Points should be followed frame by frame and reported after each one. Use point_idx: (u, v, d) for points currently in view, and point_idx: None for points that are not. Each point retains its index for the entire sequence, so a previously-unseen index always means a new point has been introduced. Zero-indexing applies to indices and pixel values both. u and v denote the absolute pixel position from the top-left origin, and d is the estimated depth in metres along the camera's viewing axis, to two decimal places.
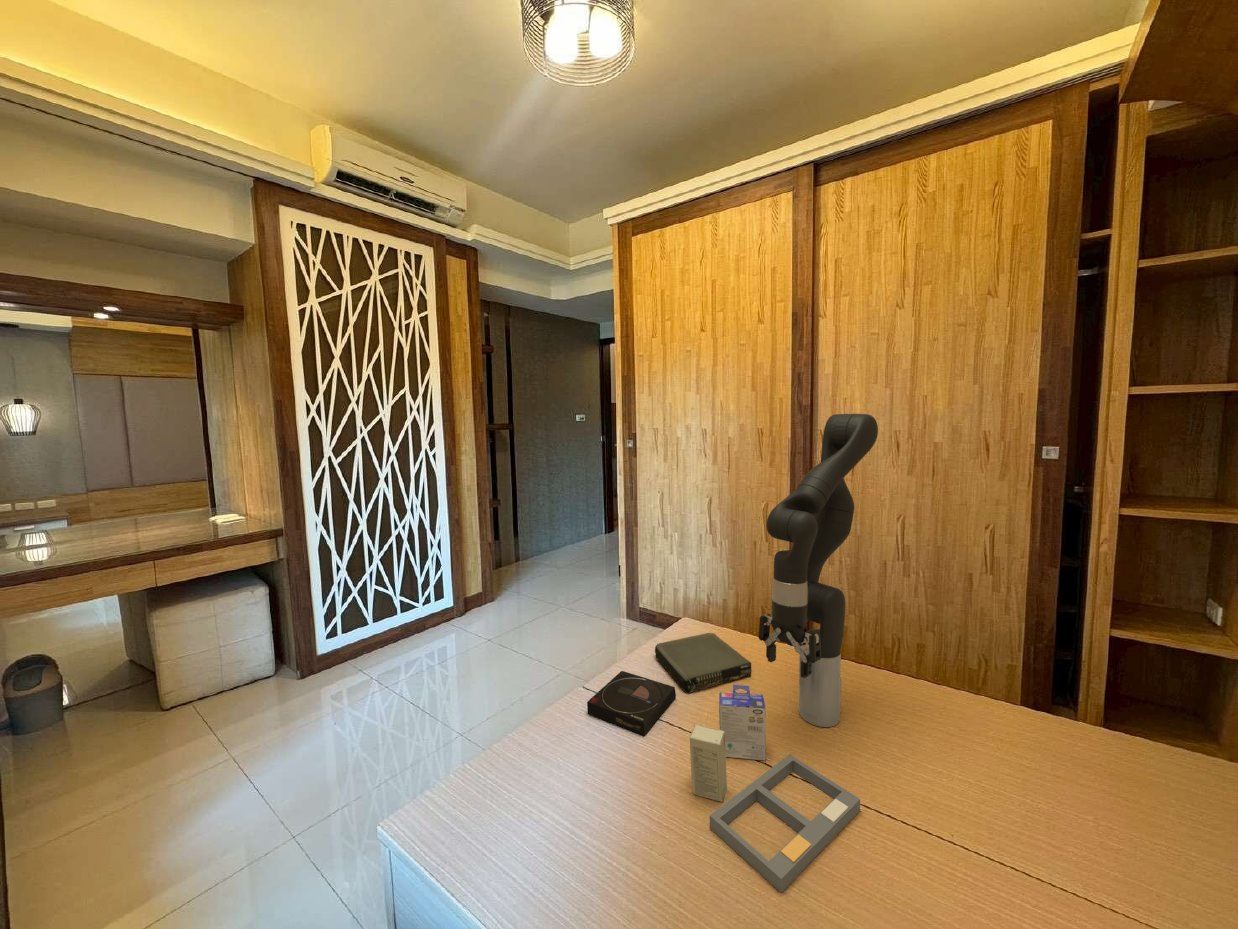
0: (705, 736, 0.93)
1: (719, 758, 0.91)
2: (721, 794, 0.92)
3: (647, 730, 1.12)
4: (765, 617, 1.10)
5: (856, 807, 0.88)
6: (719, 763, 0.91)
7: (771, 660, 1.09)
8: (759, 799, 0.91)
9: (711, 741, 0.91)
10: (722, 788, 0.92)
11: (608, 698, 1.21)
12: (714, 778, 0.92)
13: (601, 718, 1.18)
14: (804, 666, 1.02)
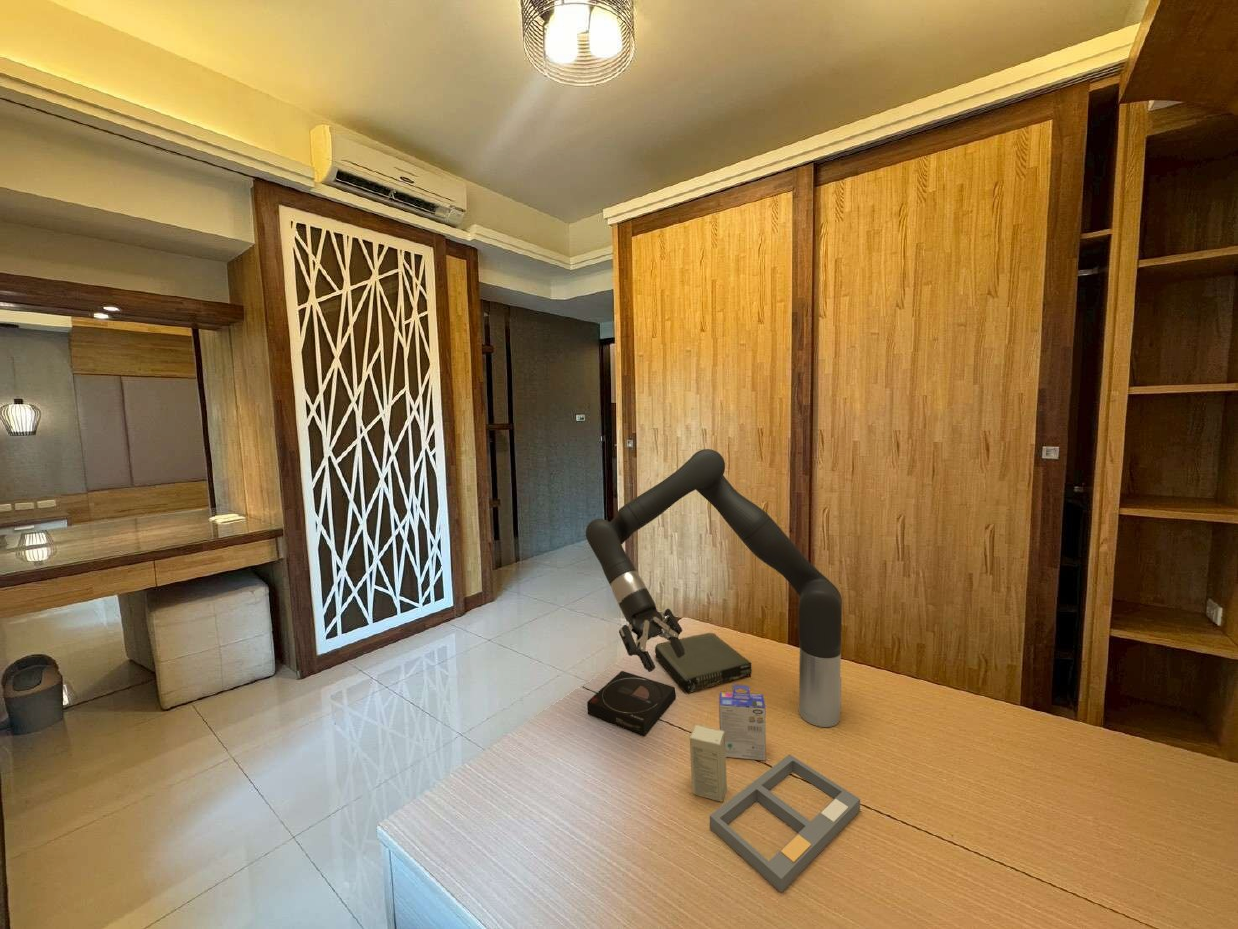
0: (705, 736, 0.93)
1: (719, 758, 0.91)
2: (721, 794, 0.92)
3: (647, 730, 1.12)
4: None
5: (856, 807, 0.88)
6: (719, 763, 0.91)
7: None
8: (759, 799, 0.91)
9: (711, 741, 0.91)
10: (722, 788, 0.92)
11: (608, 697, 1.21)
12: (714, 778, 0.92)
13: (601, 718, 1.18)
14: None
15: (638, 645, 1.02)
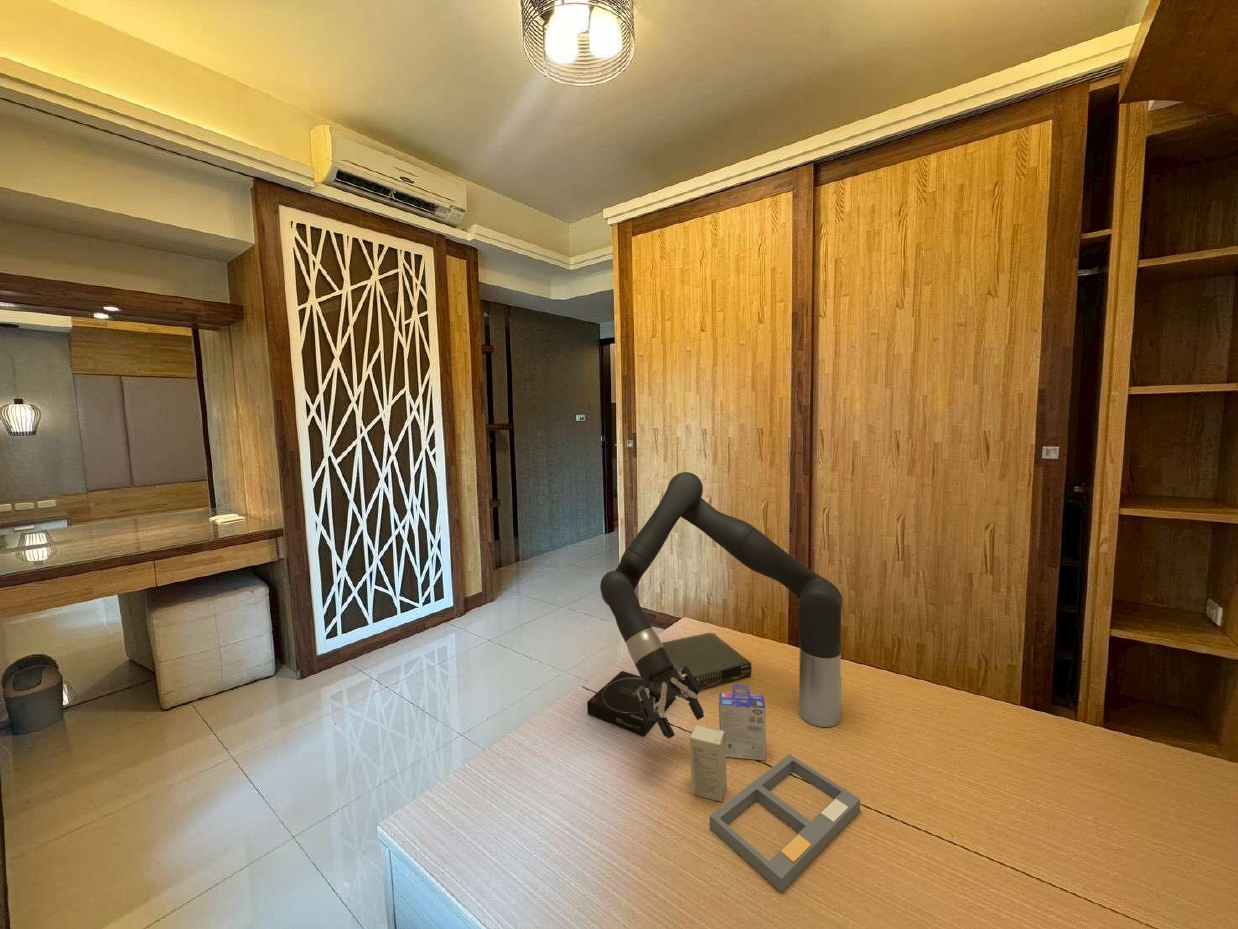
0: (705, 736, 0.93)
1: (719, 758, 0.91)
2: (721, 794, 0.92)
3: (647, 730, 1.12)
4: None
5: (856, 807, 0.88)
6: (719, 763, 0.91)
7: None
8: (759, 799, 0.91)
9: (711, 741, 0.91)
10: (722, 788, 0.92)
11: (608, 697, 1.21)
12: (714, 778, 0.92)
13: (601, 718, 1.18)
14: None
15: (656, 709, 0.99)
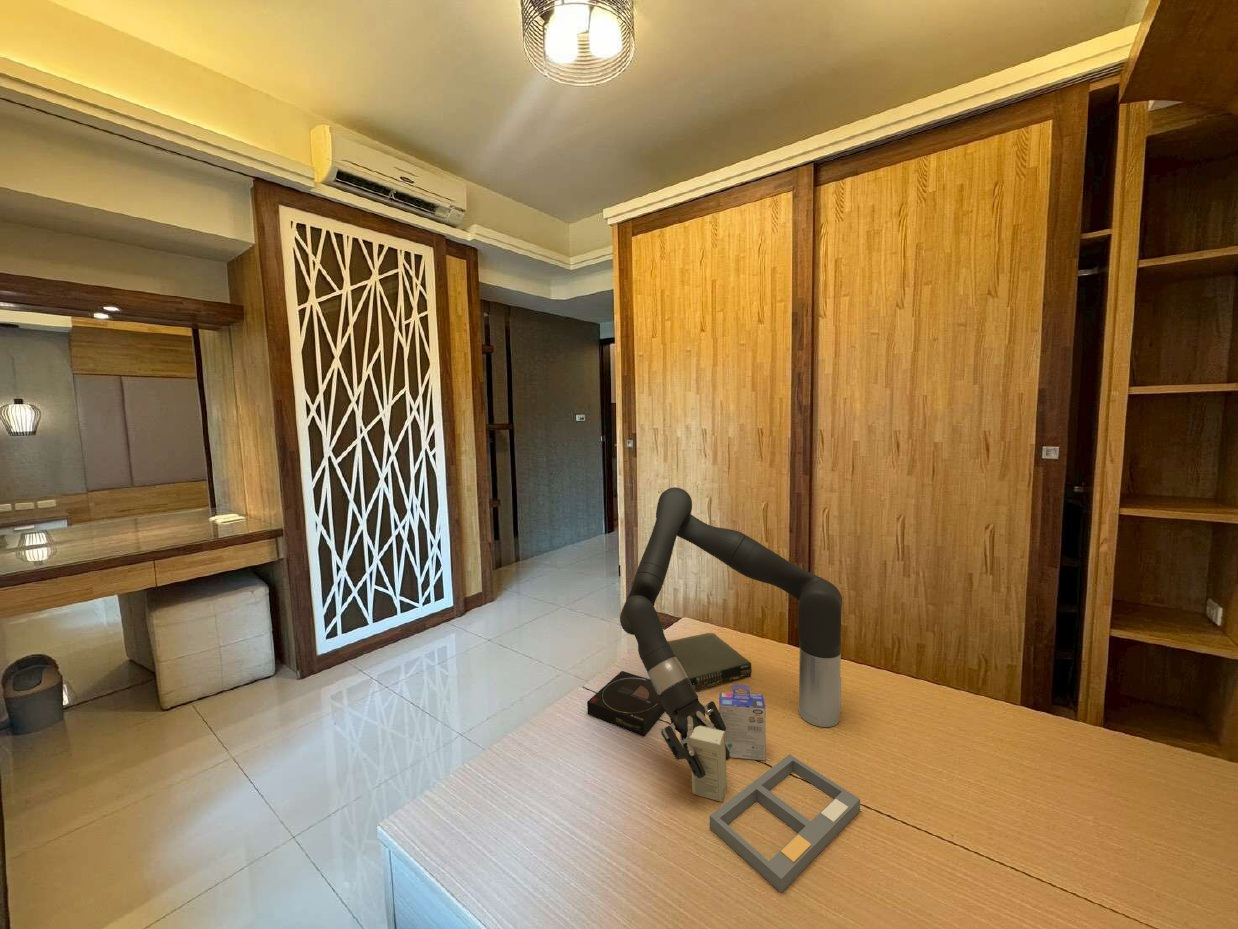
0: (705, 735, 0.93)
1: (719, 758, 0.91)
2: (721, 794, 0.92)
3: (647, 730, 1.12)
4: None
5: (856, 807, 0.88)
6: (719, 763, 0.91)
7: None
8: (759, 799, 0.91)
9: (711, 741, 0.91)
10: (722, 788, 0.92)
11: (608, 697, 1.21)
12: (714, 778, 0.92)
13: (601, 718, 1.18)
14: None
15: (684, 746, 0.94)
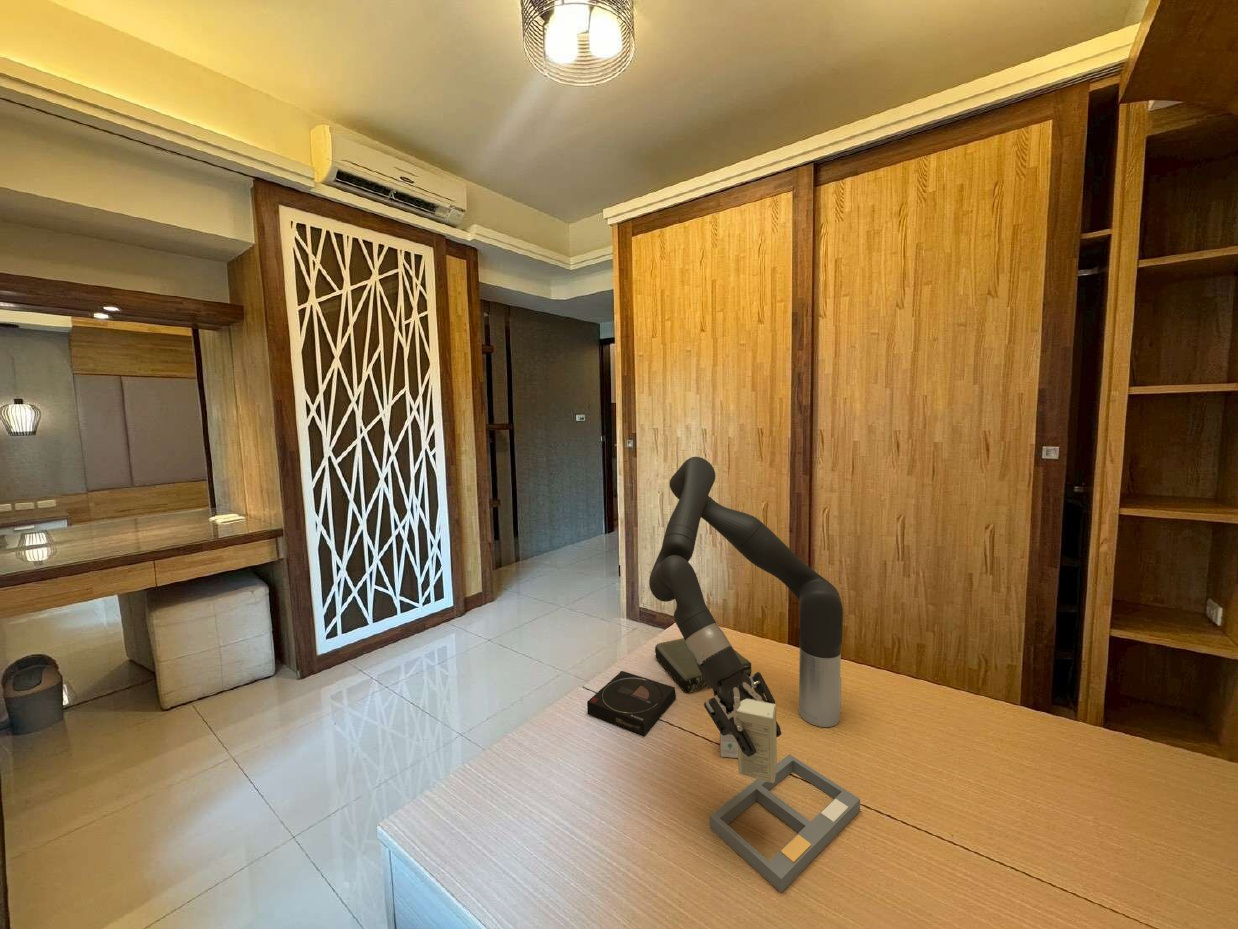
0: (755, 709, 0.82)
1: (771, 734, 0.80)
2: (773, 774, 0.81)
3: (647, 730, 1.12)
4: None
5: (856, 807, 0.88)
6: (771, 739, 0.80)
7: None
8: (759, 799, 0.91)
9: (762, 715, 0.81)
10: (774, 768, 0.81)
11: (608, 697, 1.21)
12: (765, 756, 0.81)
13: (601, 718, 1.18)
14: None
15: (730, 721, 0.83)
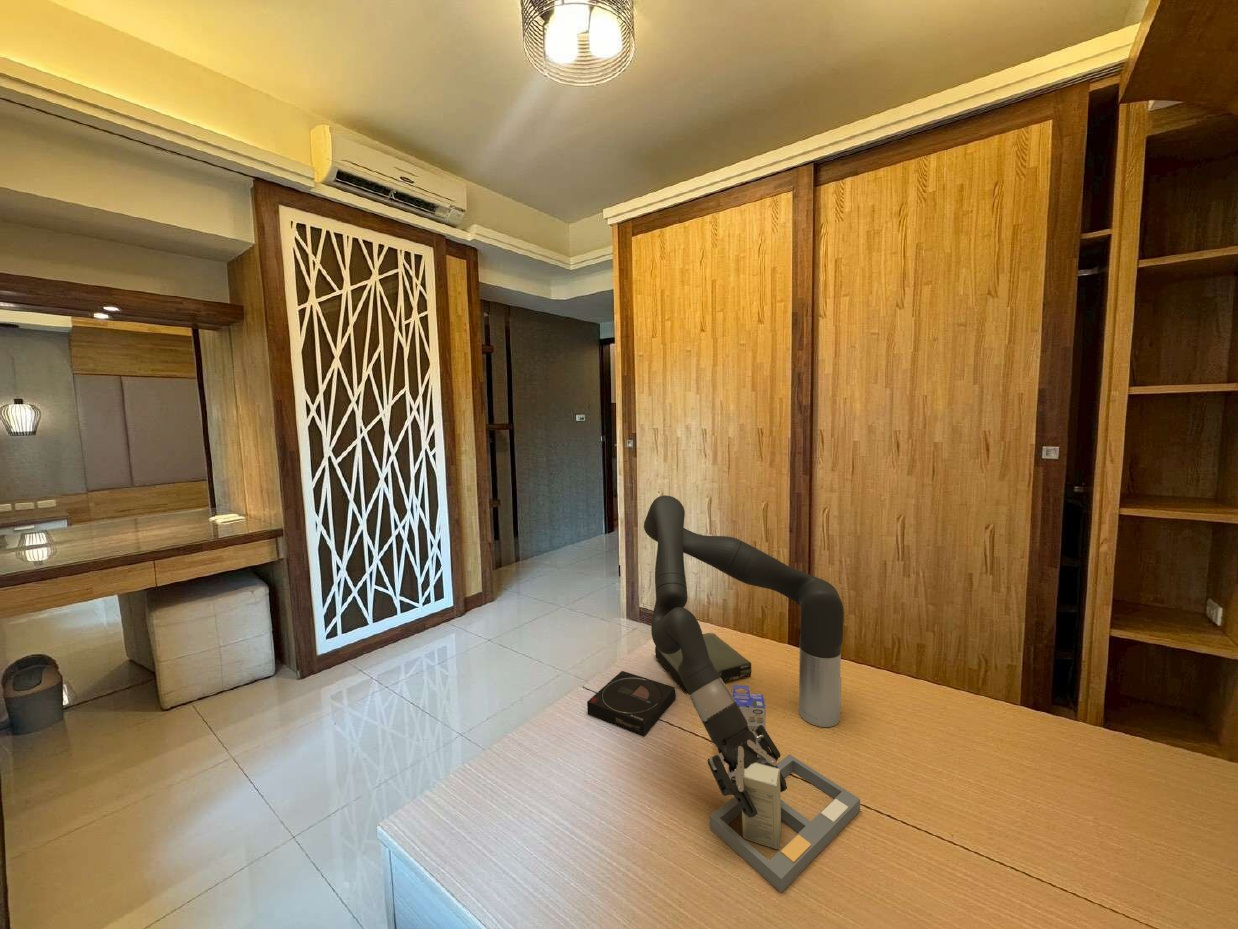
0: (759, 774, 0.83)
1: (775, 801, 0.81)
2: (777, 841, 0.82)
3: (647, 730, 1.12)
4: None
5: (856, 807, 0.88)
6: (775, 806, 0.81)
7: None
8: None
9: (766, 781, 0.81)
10: (778, 834, 0.82)
11: (608, 697, 1.21)
12: (769, 822, 0.82)
13: (601, 718, 1.18)
14: None
15: (732, 780, 0.84)
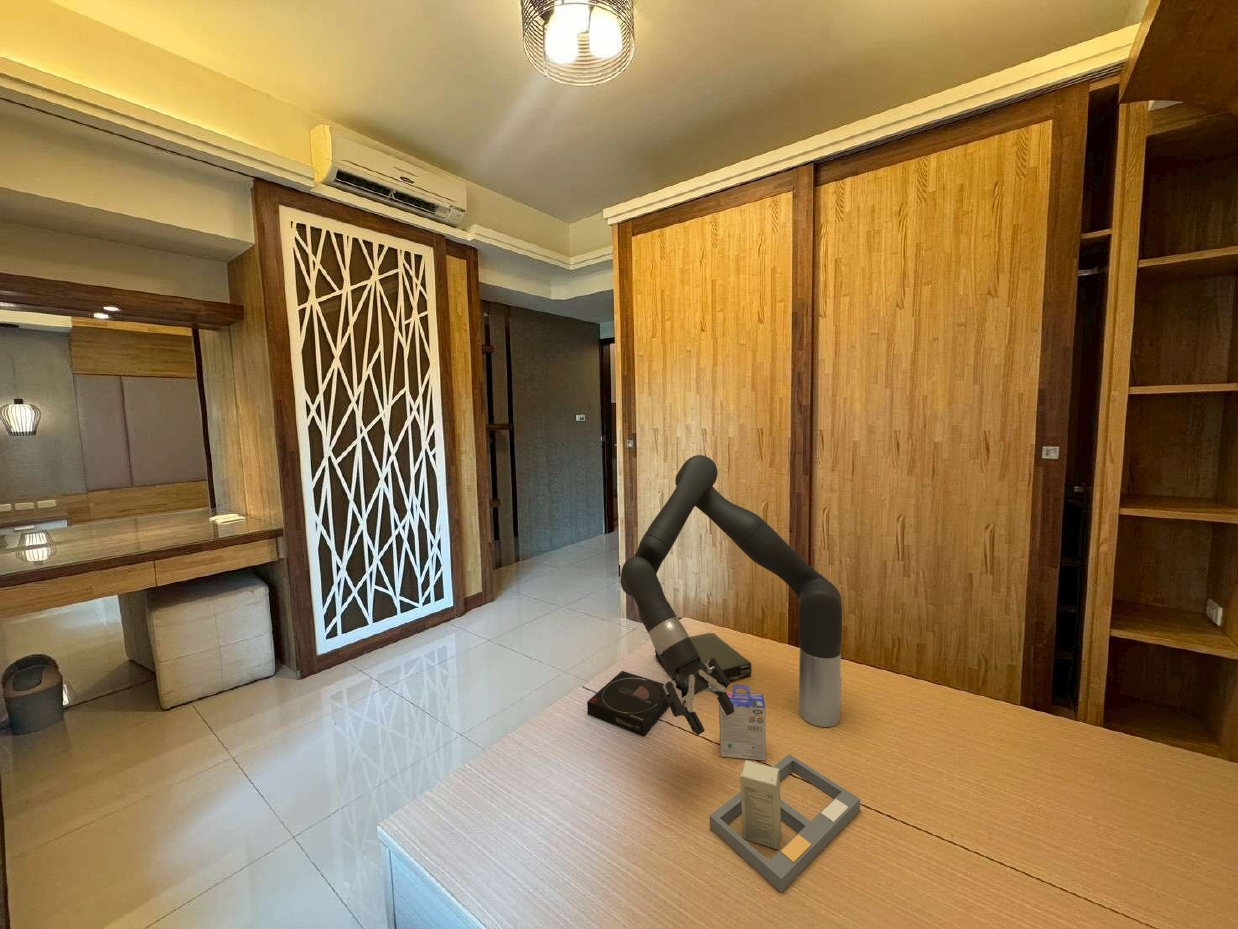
0: (758, 774, 0.83)
1: (775, 800, 0.81)
2: (777, 841, 0.82)
3: (647, 730, 1.12)
4: None
5: (856, 807, 0.88)
6: (775, 806, 0.81)
7: None
8: None
9: (766, 781, 0.81)
10: (778, 834, 0.82)
11: (608, 697, 1.21)
12: (768, 822, 0.82)
13: (601, 718, 1.18)
14: None
15: (683, 703, 0.92)
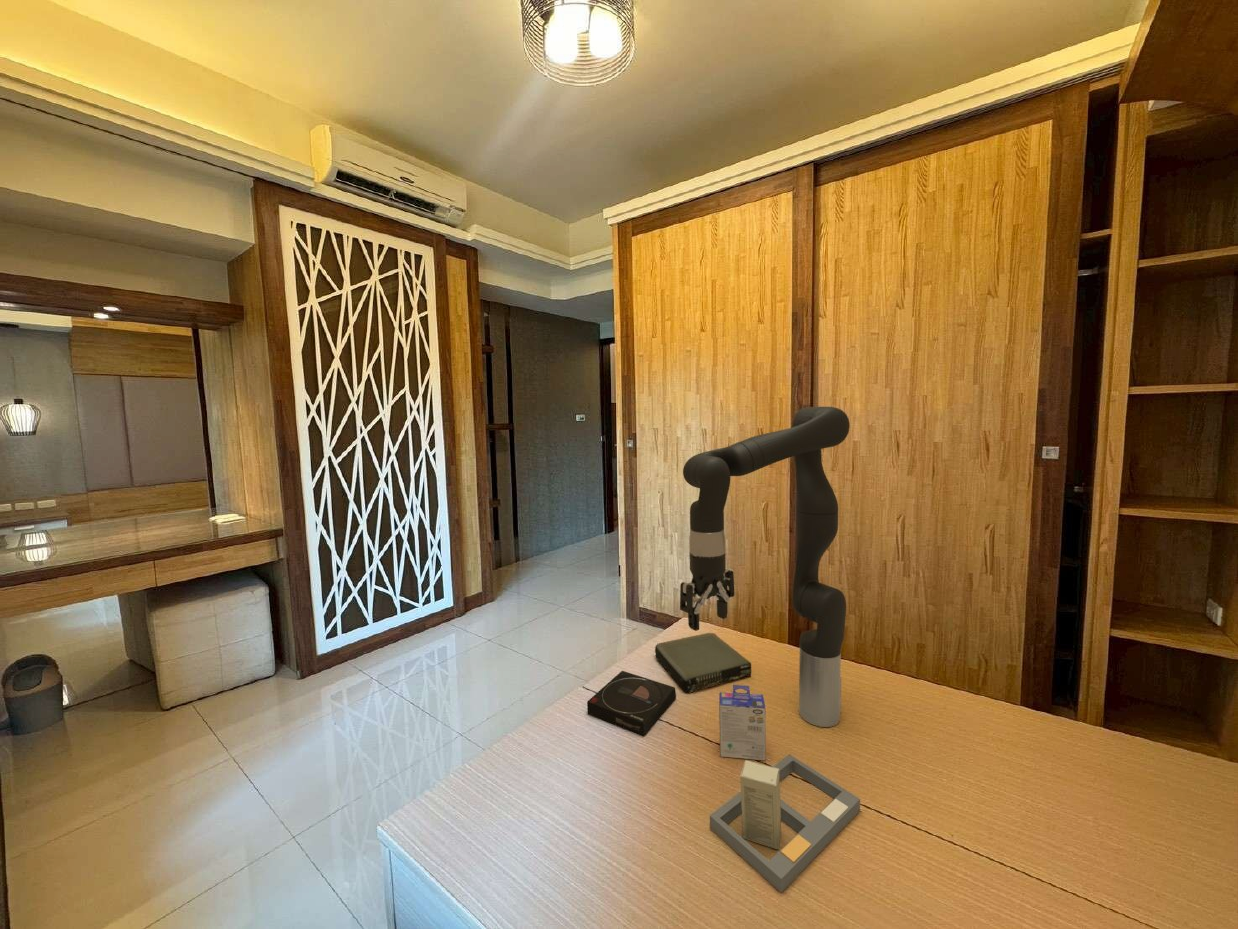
0: (758, 774, 0.83)
1: (775, 800, 0.81)
2: (777, 841, 0.82)
3: (647, 730, 1.12)
4: None
5: (856, 807, 0.88)
6: (775, 806, 0.81)
7: None
8: None
9: (766, 781, 0.81)
10: (778, 834, 0.82)
11: (608, 697, 1.21)
12: (768, 822, 0.82)
13: (601, 718, 1.18)
14: None
15: None
